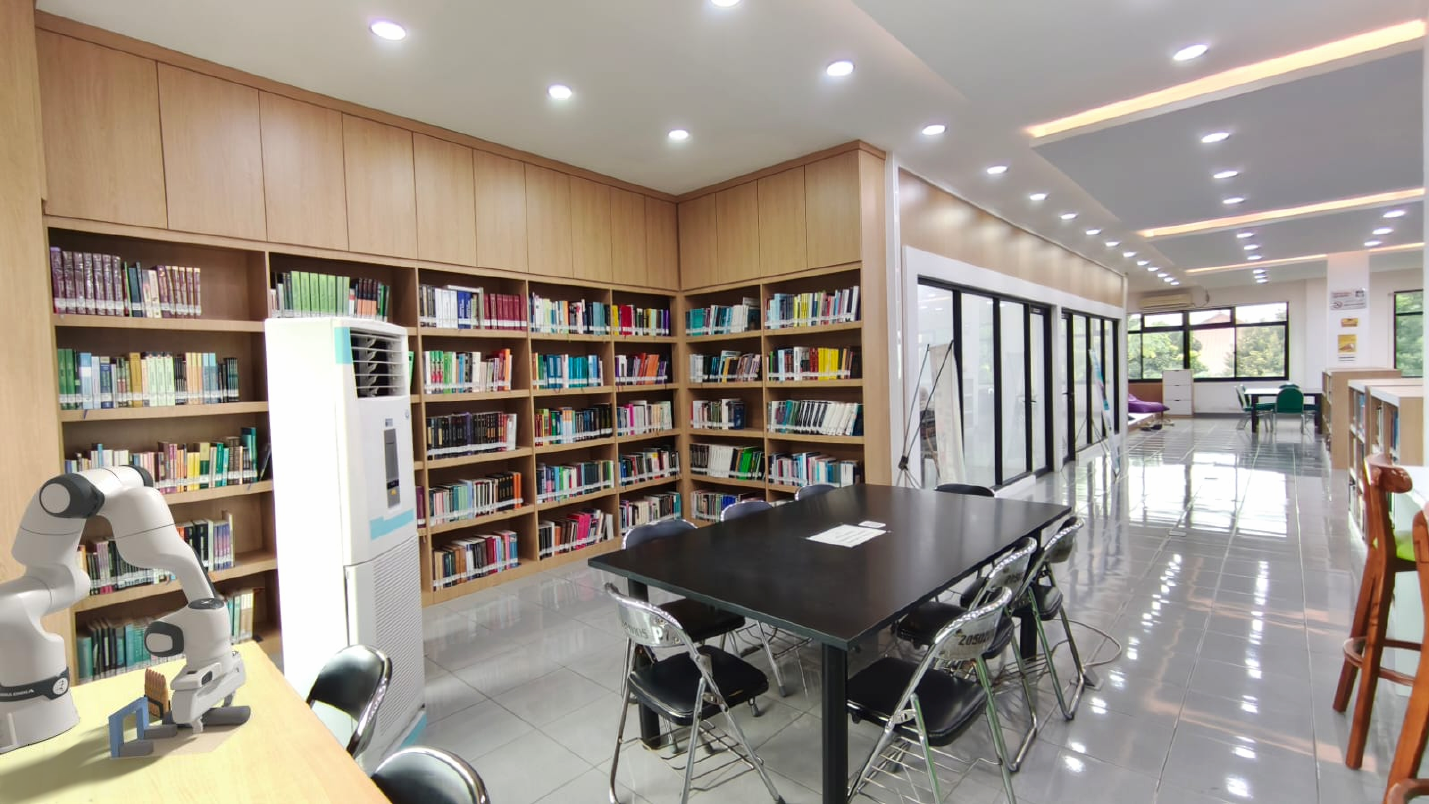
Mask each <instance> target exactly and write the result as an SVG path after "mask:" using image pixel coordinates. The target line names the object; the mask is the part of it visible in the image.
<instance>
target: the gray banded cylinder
mask: <svg viewBox="0 0 1429 804" xmlns="http://www.w3.org/2000/svg"><path fill="white" fill-rule="evenodd" d="M251 712H252V710H251V706H250V705H233V706H231V707H221V706H219V707H218V706H216V707H215V706H213V707H212V708H210V709H209V710H208V711H206V712H205V713H203V714H202V719H200V720H201V722H202V723H205V726H211V725H227V724H243V723H246V722H247V721H248V719H249V717H250V714H252V713H251ZM161 723H162V725H167V724H177V723H175V722H174V721H173V717H172V709H171V710H169V711H167V712H166V713H165V715H164V716H163V719H161ZM246 724H247V723H246ZM179 727H192V726H191V724H190V723H183V724H177V728H179Z"/></svg>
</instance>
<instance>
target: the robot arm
mask: <svg viewBox="0 0 1429 804" xmlns="http://www.w3.org/2000/svg"><path fill="white" fill-rule="evenodd" d="M154 485H155V484H154V479H153V475H152V474H151V473H150V471H148V470H147V468H145V467H142V466H140V465H133V464H120V465H116V466H115V465H113V466H112V465H111V466H110V465H109V466H108V465H107V466H98V467H94V468H91V469H86V470H80V471H76V472H66V473H62V474H60V475H57V476H54V477H52V478H49V479H48V480H47V481H45V483H43V484H42V485H41V486H40V487H39V488H37V489H36V491H35V493H34V494H33V496H32V497H31V499H30V501H29V503H28V505H27V506H26V508H25V510H24V512H23V515H22V517H21V519H20V522H19V525H18V528H17V532H16V535H15V538H14V541H13V544H12V546H11V551H10V553H11V556H12V558H13V559H14V560H15V561H16V562H17V563H19V564H20V565H23V566H25V567H26V568H25V572H24V573H23V574H22V576H20V577H19V578H18V577H17V578H16V579H12V580H8V581H6V582H2V583H0V753H1V754H5V753H7V752H11V751H12V750H13V751H14V750H15V749H18V748H21V747H25V746H28V744H29V745H32V744H35V743H39V742H42V741H45V740H47V739H50V738H52V737H55V736H58V735H59V734H63V733H64V732H66V731H68V730H69V729H71V728H73V727H75V726H76V725H77V724H78V722H80V720H81V717H80V715H79V714H78V709H77V707H75V703H74V699H73V695H72V691H71V688H70V681H71V675H70V674H71V671H70V667H69V666H68V665H67V657H66V656H67V655H66V644H65V640H64V638H63V636H61V634H60V635H59V634H58V633H55V632H50V631H49V632H48V631H45V629H43V626H42V623H41V618H44V617H47V616H49V615H52V614H55V613H56V614H57V613H58V612H61V611H64V610H66V609H68V608H69V607H72V606H73V605H75V604H77V603H78V602H80V601H81V600H83V599H85V598H86V597H87V596H88V595H89V593H90V590H91V587H92V581H91V577H90V575H89V574H88V573H87V572H86V571H85V570H84V569H82V568H80V567H78V564H77V551H78V547H79V544H80V541H81V538H82V535H83V531H84V528H85V525H86V522H87V520H91V519H93V518H95V517H96V516H102V517H103V518H105V519H107V520H108V522H109V523H110V525H111V528H112V529H111V530H112V533H113V534H112V535H113V536H114V541H115V544H116V548H117V551H118V554H119V556H120V557H121V558H122V560H123V561H124V562H125V563H127V564H129V565H131V566H133V567H136V568H141V569H150V570H151V569H152V570H153V569H154V570H162V571H166V572H169V573H171V574H172V575H174V576H175V577H176V579H177V581H178V583H179V585H180V587H181V589H182V591H183V593H184V595H185V597H186V599H187V602H188V604H186V605H185V606H184V607H182V608H181V609H179V610H177V611H174V612H171V613H169V614H167V615H165V616H162V617H160V618H157V619H156V620H154V621H153V622H150V623H149V624H148V625H147V627H146V629H145V631H144V633H143V645H144V648H145V650H146V651H147V653H149V654H150V655H151V656H154V657H156V658H157V657H158V658H161V659H163V658H170V657H175V656H178V655H181V654H182V655H185V661H186V662H185V664H184V665H183V667H182V668H181V670H179V672H178V673H177V675H175V677H174V678H173V679H172V680H171V681H170V683H169V688H170V690H171V691H173V693H172V695H171V699H170V704H171V710H172V717H173V721H174V722H175V723H177V724H183V723H190V724H191V726H192V727H193V732H194V733H195V734H198V733H201V732H203V731H204V730H205V729H206V727H205V723H202V722H201V720H200V719H202V714H203V713H205V712H206V711H208V710H209V709H210V708H214V707H215V706H216V705H217V704H218V703H220V702H221V701H222V700H223V704H222V705H221V706H220V707H231V706H234V705H233V702H234V699H235V696H236V695H237V694H236V693H237V692H236V691H237V690H238V689H239V688H241V687H242V686H243V685H245V683H246V682H247V670H246V665H245V661H244V659H243V658H242V653H241V652H240V651H237V650H233V646H232V644H231V641H230V639H231V634H232V624H231V616H230V615H231V614H230V610H229V608H228V605H227V604H226V603H227V602H225V601H224V600H223V599H221V597H220V595H219V593H218V592H217V590H216V588H215V586H214V584H213V582H212V580H211V578H210V576H209V574H208V571H207V569H206V566H205V565H204V563H203V561H202V559H201V557H200V555H199V554H198V551H197V550H196V549H195V547H193V545H191V544H190V543H187V542H185V540H184V539H183V538H182V537H181V535H180V533H179V532H178V529H177V528H176V524H175V521H174V520H175V519H174V517H173V515H172V512H171V509H170V507H169V506H168V503H167V502H166V499H165V497H164V496H163V495H162V492H161V491H160V490H158V489H157V488H155V487H154Z"/></svg>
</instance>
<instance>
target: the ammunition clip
mask: <svg viewBox="0 0 1429 804" xmlns="http://www.w3.org/2000/svg"><path fill="white" fill-rule="evenodd" d="M144 672H145V673H144V684H143V686H144V694H143V697H147V698H148V713H149V714H151V715H154V716H155V717H157V718H159V719H160V720H162V719H163V716H164V715H165V713H166V712H167V711H169V710H172V704H171V699H169V690H168V685H167V684H168V683H167V678H166V676H165V675H164V674H161V673H160V672H159V673H158V671H155V670H152V669H151V668H149V667H146V668H145V671H144Z"/></svg>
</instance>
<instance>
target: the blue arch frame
mask: <svg viewBox="0 0 1429 804" xmlns="http://www.w3.org/2000/svg"><path fill="white" fill-rule="evenodd" d="M131 714H135V724H136V737H137V738H136V740H145V729H146V728H148V727H149V726H150V716H149V714H150V713H149V712H148V698H147V697H144V696H140V697H138V698H137V699H135V700H133V701H132V702H130V703H128V704H127V705H125V706H124V707H122V708H120V709H119V710H116V712H114V713H112V714H110V715H109V716H108V717H107V719H108V730H109V731H108V732H109V744H110V758H119V757H120V753H119V746H121V745H122V744H124V743H125V736H124V734H125V733H124V723H123V719H125V718H126V717H128V716H131Z"/></svg>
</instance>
